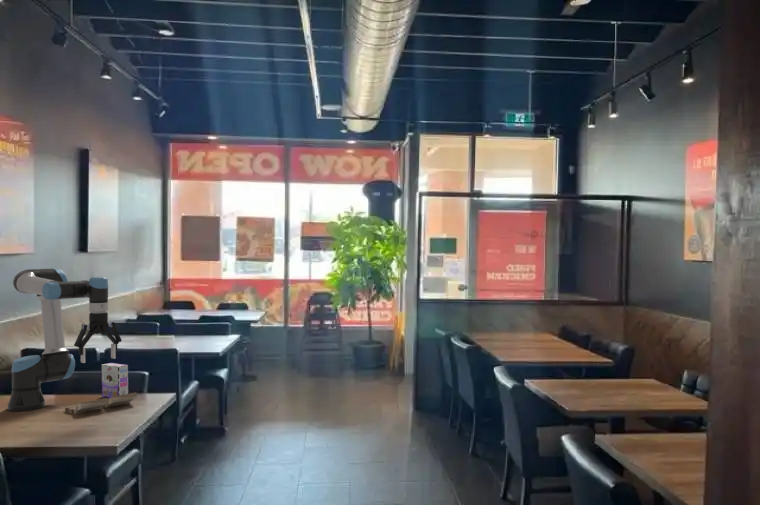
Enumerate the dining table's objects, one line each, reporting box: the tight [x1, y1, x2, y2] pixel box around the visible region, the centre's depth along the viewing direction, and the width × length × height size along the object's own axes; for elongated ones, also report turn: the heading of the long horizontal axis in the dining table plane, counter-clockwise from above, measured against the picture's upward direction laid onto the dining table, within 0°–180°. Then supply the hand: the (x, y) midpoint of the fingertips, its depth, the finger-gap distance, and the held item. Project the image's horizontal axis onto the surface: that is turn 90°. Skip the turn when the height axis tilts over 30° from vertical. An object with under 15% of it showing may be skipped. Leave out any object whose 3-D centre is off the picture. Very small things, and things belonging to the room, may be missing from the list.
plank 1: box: [74, 397, 109, 415], centre depth 283 cm, size 8×12×2 cm
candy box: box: [100, 362, 129, 399], centre depth 313 cm, size 14×6×16 cm, turn 58°
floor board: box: [64, 398, 110, 415], centre depth 293 cm, size 8×27×2 cm, turn 141°
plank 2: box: [104, 392, 138, 409], centre depth 294 cm, size 8×12×2 cm
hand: (98, 360), depth 278 cm, fingers open, 13 cm apart
